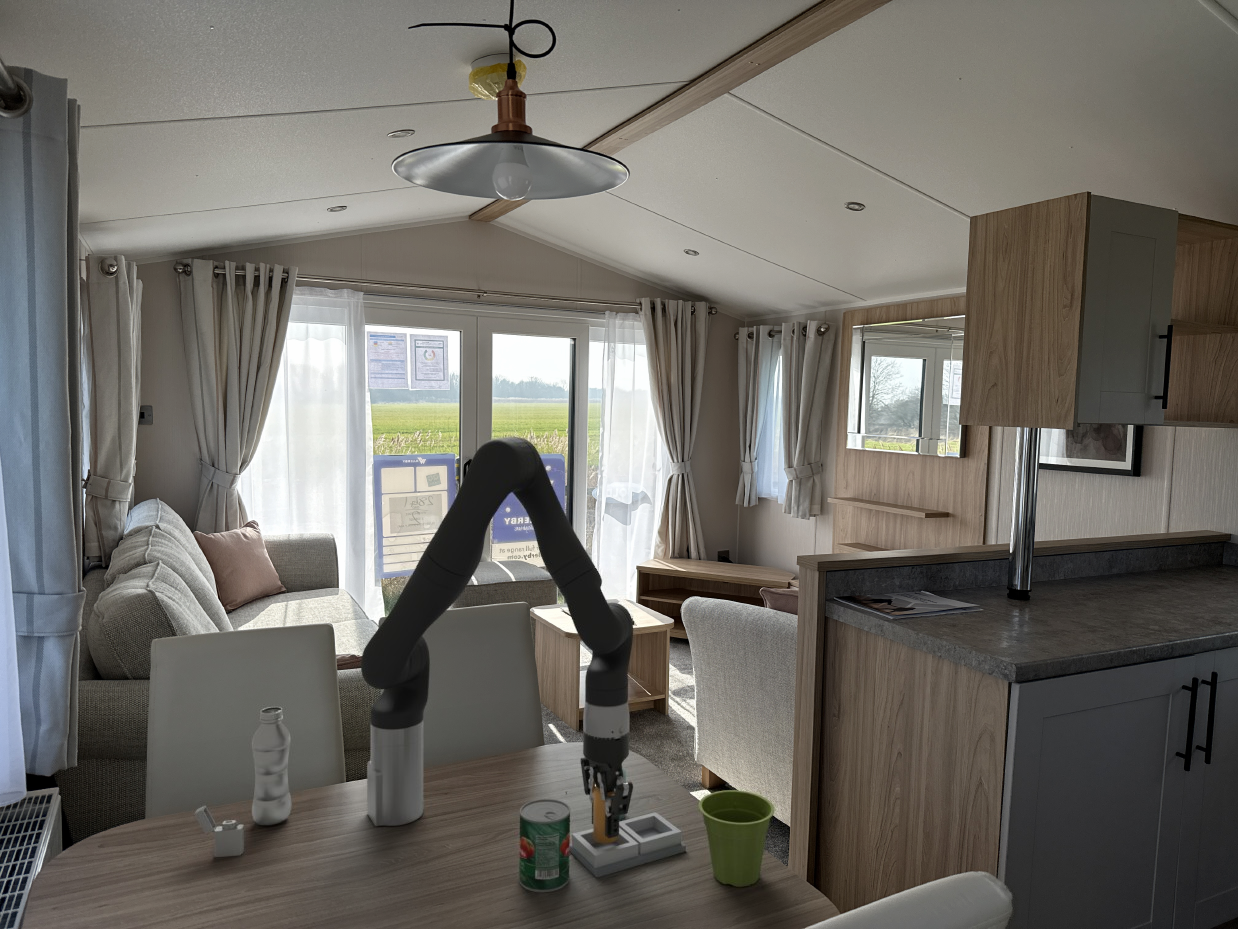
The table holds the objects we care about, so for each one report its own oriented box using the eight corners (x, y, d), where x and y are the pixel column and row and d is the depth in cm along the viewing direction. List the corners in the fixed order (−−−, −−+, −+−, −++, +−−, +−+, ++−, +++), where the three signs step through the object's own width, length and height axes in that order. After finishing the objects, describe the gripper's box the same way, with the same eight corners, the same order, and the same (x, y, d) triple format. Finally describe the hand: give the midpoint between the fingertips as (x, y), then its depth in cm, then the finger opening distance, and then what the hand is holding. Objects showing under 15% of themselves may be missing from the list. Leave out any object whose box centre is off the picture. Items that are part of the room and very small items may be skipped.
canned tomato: (509, 876, 130) (510, 807, 130) (551, 860, 135) (552, 794, 134) (536, 899, 124) (536, 826, 123) (579, 882, 129) (580, 812, 128)
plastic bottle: (298, 813, 150) (298, 704, 149) (279, 831, 143) (279, 717, 142) (264, 811, 151) (264, 703, 150) (244, 829, 144) (243, 715, 143)
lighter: (244, 850, 137) (243, 802, 137) (241, 855, 135) (241, 807, 135) (197, 853, 136) (197, 805, 135) (194, 858, 134) (194, 810, 134)
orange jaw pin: (600, 845, 133) (601, 797, 133) (588, 835, 137) (589, 787, 137) (622, 840, 136) (622, 791, 135) (609, 829, 139) (610, 782, 139)
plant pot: (728, 849, 139) (729, 783, 139) (788, 876, 131) (789, 806, 131) (682, 875, 131) (683, 805, 131) (742, 906, 123) (743, 831, 122)
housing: (596, 877, 130) (596, 859, 130) (567, 849, 139) (568, 831, 138) (685, 851, 138) (686, 833, 138) (653, 826, 147) (653, 809, 147)
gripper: (566, 718, 140) (565, 818, 140) (607, 746, 127) (606, 855, 128) (605, 711, 143) (604, 808, 144) (648, 737, 131) (647, 844, 132)
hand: (605, 830), depth 136 cm, fingers closed on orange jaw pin, 4 cm apart
